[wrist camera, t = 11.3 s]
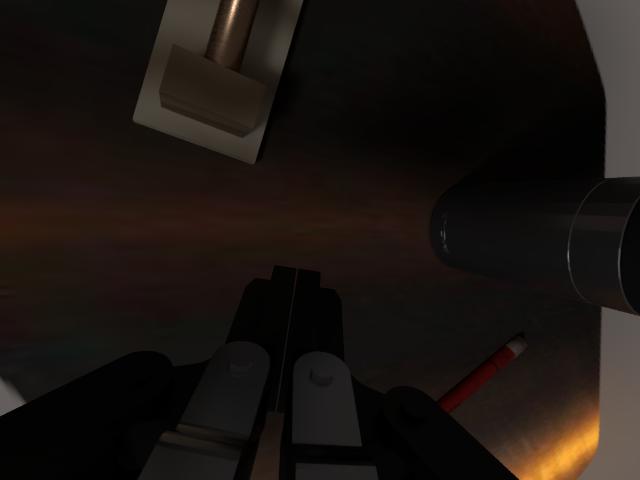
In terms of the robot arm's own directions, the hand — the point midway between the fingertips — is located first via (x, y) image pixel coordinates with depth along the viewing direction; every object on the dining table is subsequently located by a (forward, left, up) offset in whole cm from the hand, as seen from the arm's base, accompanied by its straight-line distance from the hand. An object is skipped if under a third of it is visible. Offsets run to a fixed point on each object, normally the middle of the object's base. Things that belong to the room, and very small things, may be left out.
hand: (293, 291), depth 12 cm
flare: (-27, +19, -20) cm, 39 cm away
